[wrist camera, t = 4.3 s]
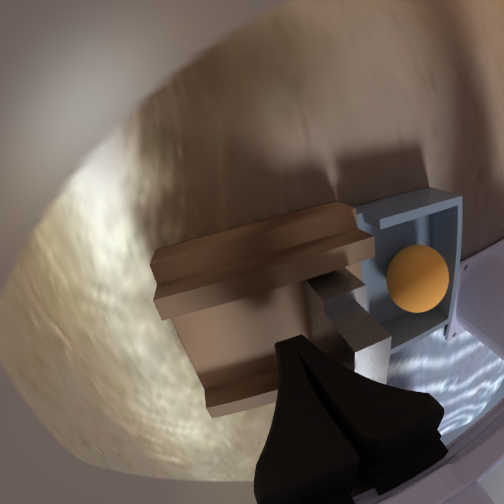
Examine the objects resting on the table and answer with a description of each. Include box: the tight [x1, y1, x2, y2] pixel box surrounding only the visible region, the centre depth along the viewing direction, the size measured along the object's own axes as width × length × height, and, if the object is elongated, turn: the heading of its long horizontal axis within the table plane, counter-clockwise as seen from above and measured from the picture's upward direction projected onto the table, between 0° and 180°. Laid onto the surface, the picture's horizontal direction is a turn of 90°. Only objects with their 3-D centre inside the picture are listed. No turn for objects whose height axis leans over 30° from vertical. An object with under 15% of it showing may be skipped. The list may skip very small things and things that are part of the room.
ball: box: [386, 245, 449, 313], centre depth 15 cm, size 4×4×4 cm
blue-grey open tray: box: [352, 187, 463, 355], centre depth 16 cm, size 7×9×3 cm
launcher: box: [150, 201, 376, 418], centre depth 15 cm, size 10×10×4 cm
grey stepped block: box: [303, 267, 392, 384], centre depth 12 cm, size 2×5×5 cm, turn 13°
